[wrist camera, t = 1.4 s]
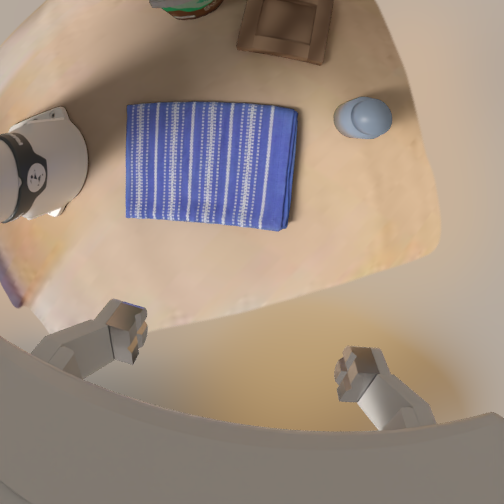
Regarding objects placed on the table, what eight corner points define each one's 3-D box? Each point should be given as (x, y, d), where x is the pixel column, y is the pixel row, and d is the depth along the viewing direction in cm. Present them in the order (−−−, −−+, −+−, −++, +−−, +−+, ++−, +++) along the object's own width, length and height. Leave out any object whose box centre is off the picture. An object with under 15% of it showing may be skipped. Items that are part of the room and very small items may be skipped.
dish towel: (285, 230, 40) (286, 237, 38) (129, 216, 41) (121, 222, 38) (299, 109, 34) (302, 107, 31) (130, 104, 34) (121, 103, 31)
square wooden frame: (237, 50, 30) (236, 46, 28) (252, -12, 26) (252, -18, 24) (320, 65, 30) (322, 62, 29) (331, 3, 26) (333, -2, 24)
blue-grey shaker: (330, 132, 34) (349, 131, 26) (337, 97, 32) (357, 87, 24) (364, 142, 34) (391, 145, 26) (371, 108, 32) (399, 103, 24)
